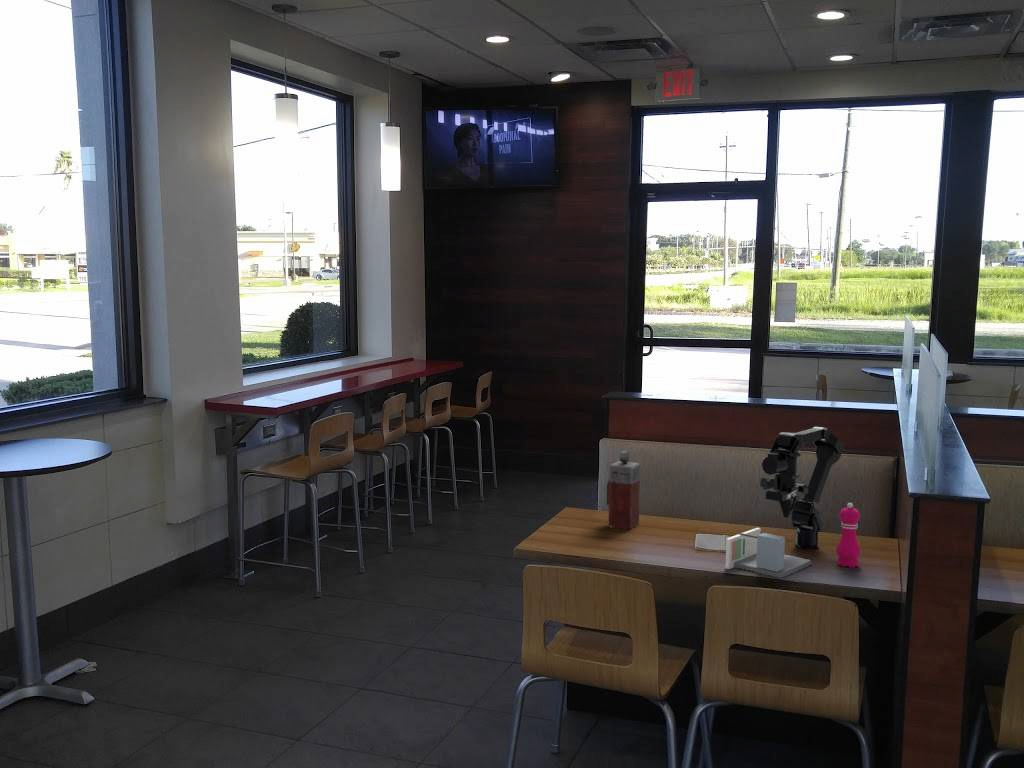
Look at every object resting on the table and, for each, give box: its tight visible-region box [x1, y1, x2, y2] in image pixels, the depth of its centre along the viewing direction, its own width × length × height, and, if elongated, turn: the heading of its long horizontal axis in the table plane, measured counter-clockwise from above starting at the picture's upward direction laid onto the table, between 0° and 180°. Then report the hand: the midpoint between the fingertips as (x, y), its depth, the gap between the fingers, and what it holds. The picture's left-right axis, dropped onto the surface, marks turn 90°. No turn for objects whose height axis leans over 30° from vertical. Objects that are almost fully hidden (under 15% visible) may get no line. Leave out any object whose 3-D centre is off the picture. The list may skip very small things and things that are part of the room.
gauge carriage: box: [738, 532, 786, 572], centre depth 278 cm, size 5×14×10 cm, turn 45°
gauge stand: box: [725, 527, 812, 579], centre depth 282 cm, size 22×17×10 cm
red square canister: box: [606, 450, 641, 530], centre depth 332 cm, size 9×11×28 cm
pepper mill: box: [835, 502, 862, 568], centre depth 284 cm, size 7×7×20 cm
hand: (786, 517), depth 297 cm, fingers closed
